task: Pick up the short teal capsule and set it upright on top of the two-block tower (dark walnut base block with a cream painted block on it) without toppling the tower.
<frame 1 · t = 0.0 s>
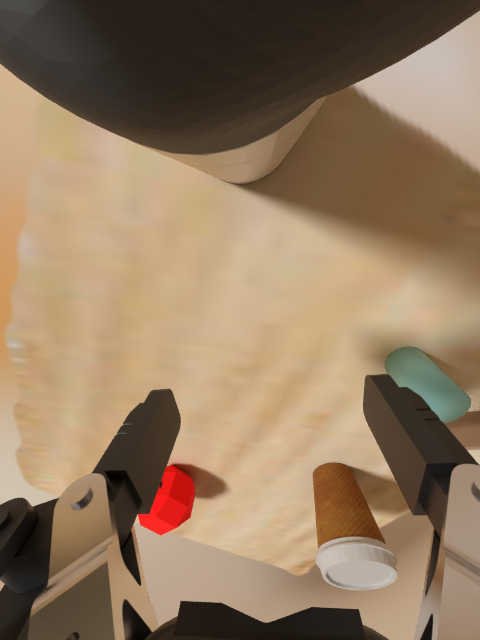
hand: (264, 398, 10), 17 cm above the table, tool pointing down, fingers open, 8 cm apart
walnut base block: (453, 427, 33), on the table, touching cream block
teal capsule: (404, 362, 29), on the table
disposable coffee cup: (331, 473, 40), on the table
red faceted polyhedron: (174, 473, 43), on the table
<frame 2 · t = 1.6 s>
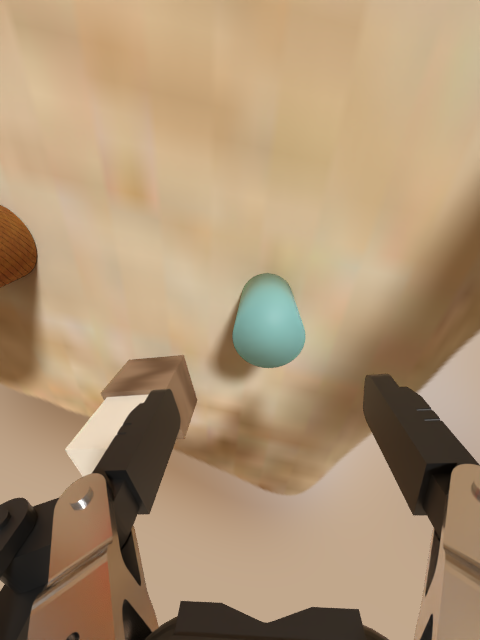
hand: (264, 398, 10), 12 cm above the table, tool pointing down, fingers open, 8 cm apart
walnut base block: (164, 380, 26), on the table, touching cream block
teal capsule: (266, 298, 21), on the table
disposable coffee cup: (3, 241, 21), on the table
cream block: (143, 416, 22), point 5 cm above the table, touching walnut base block
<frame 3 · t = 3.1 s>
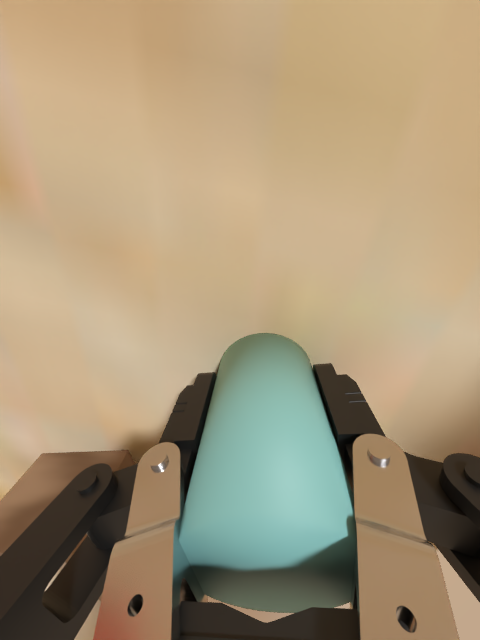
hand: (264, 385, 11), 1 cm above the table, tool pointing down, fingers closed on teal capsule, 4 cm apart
walnut base block: (102, 480, 17), on the table, touching cream block
teal capsule: (264, 373, 12), on the table, touching gripper
cream block: (41, 584, 12), point 5 cm above the table, touching walnut base block
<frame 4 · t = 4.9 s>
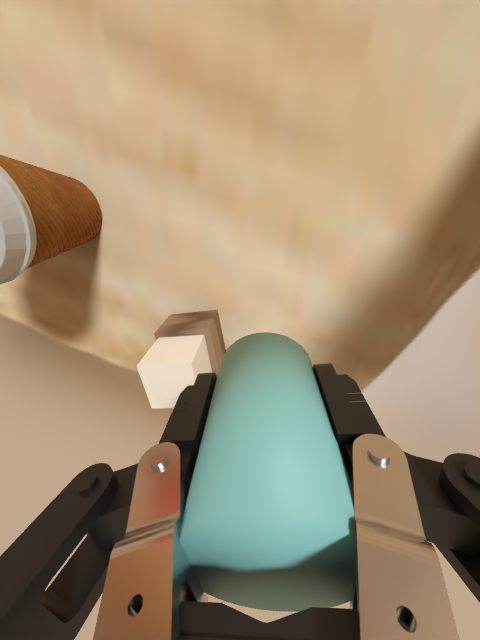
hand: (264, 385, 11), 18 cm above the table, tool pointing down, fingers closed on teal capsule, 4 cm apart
walnut base block: (199, 333, 31), on the table, touching cream block
teal capsule: (265, 372, 12), point 17 cm above the table, touching gripper
disposable coffee cup: (74, 210, 26), on the table
cream block: (186, 356, 26), point 5 cm above the table, touching walnut base block
when the fingers open (12 cm above the table, at t = 6.9 s): teal capsule drops 1 cm, resting on cream block.
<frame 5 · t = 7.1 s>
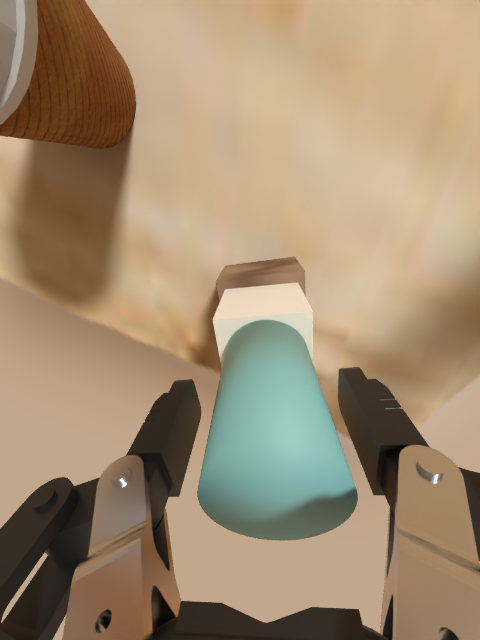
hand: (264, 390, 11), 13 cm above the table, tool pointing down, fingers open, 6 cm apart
walnut base block: (262, 294, 22), on the table, touching cream block
teal capsule: (266, 356, 13), point 10 cm above the table, touching cream block
disposable coffee cup: (93, 94, 17), on the table
cream block: (263, 318, 18), point 5 cm above the table, touching teal capsule, walnut base block
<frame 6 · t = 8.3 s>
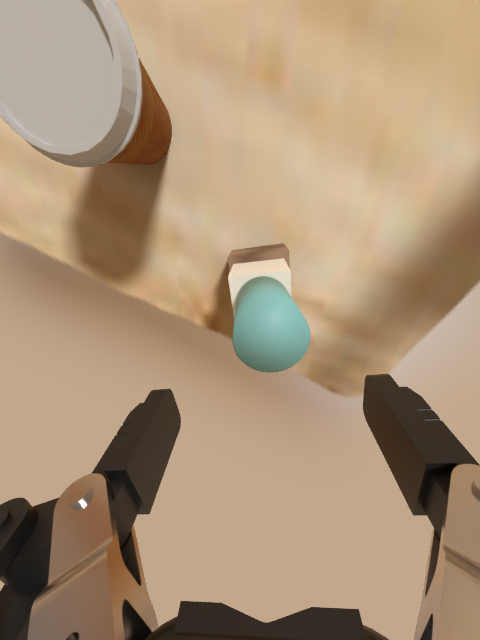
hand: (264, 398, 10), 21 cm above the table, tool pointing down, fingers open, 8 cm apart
walnut base block: (260, 272, 29), on the table, touching cream block
teal capsule: (262, 302, 20), point 10 cm above the table, touching cream block
disposable coffee cup: (141, 127, 24), on the table
cream block: (260, 285, 25), point 5 cm above the table, touching teal capsule, walnut base block
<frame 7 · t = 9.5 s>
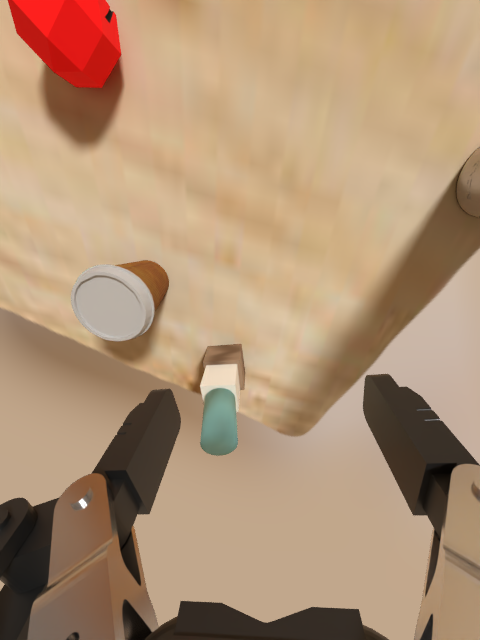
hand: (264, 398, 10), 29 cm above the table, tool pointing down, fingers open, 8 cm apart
walnut base block: (226, 359, 44), on the table, touching cream block
teal capsule: (220, 399, 35), point 10 cm above the table, tilted 6°, touching cream block
disposable coffee cup: (150, 279, 39), on the table
cream block: (223, 377, 40), point 5 cm above the table, touching teal capsule, walnut base block
red faceted polyhedron: (92, 48, 28), on the table
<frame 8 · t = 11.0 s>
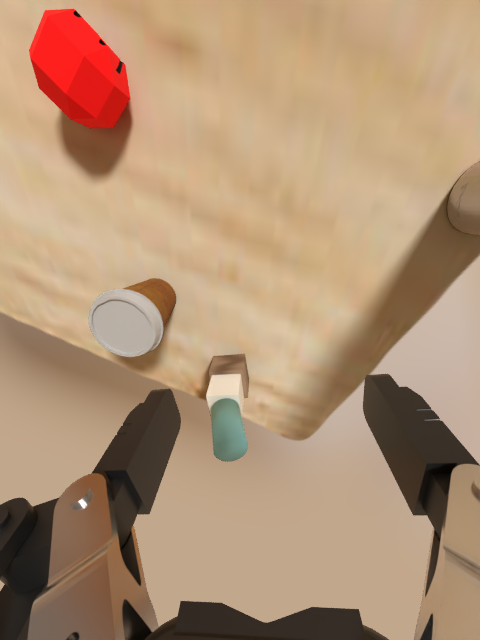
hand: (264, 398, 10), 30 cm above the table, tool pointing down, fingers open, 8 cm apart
walnut base block: (231, 368, 47), on the table, touching cream block
teal capsule: (225, 409, 37), point 10 cm above the table, tilted 14°, touching cream block
disposable coffee cup: (158, 295, 41), on the table
cream block: (228, 386, 42), point 5 cm above the table, touching teal capsule, walnut base block
red faceted polyhedron: (104, 91, 30), on the table
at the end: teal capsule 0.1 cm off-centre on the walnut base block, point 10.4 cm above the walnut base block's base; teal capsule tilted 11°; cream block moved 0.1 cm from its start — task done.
